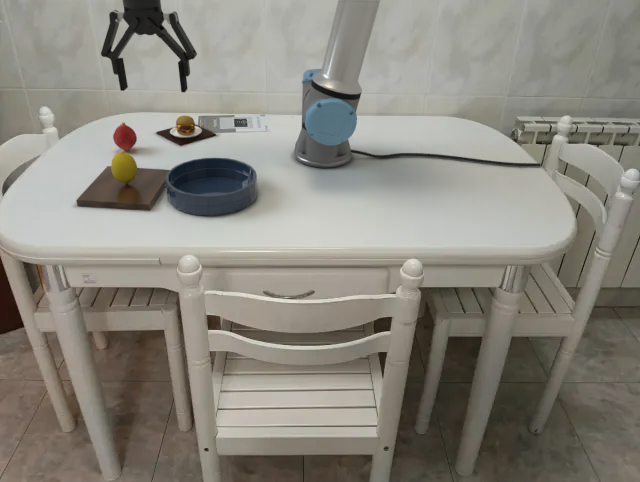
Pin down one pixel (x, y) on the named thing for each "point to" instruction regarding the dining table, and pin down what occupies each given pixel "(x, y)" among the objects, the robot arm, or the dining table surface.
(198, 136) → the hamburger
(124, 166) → the lemon
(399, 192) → the dining table surface
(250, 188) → the bowl
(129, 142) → the onion
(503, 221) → the dining table surface
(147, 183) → the board
